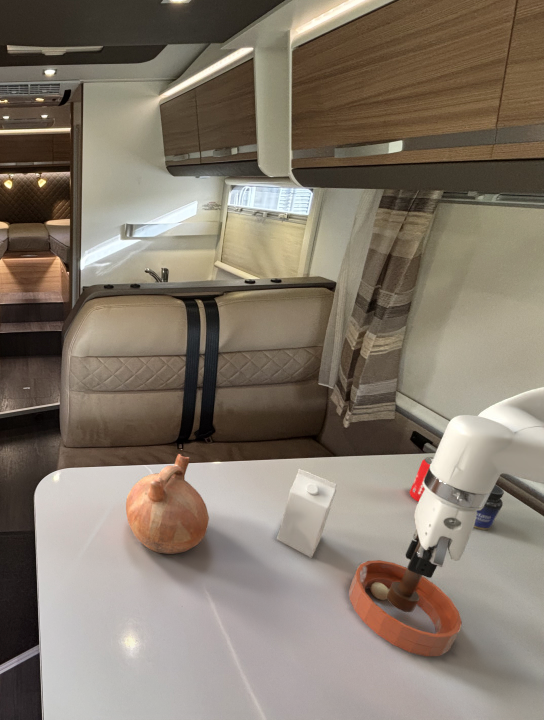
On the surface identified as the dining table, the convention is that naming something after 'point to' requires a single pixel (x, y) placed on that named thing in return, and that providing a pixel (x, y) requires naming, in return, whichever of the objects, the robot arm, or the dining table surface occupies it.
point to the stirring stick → (406, 590)
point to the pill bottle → (489, 510)
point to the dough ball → (379, 590)
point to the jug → (167, 510)
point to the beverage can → (420, 479)
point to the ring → (394, 630)
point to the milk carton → (306, 512)
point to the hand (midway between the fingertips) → (417, 566)
